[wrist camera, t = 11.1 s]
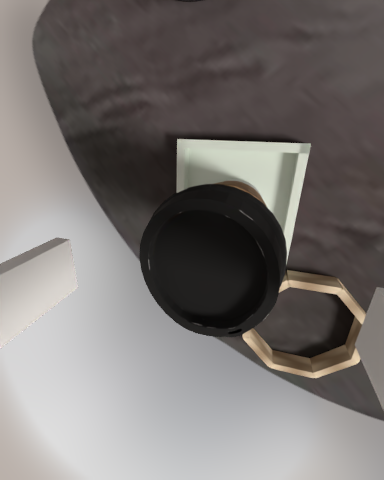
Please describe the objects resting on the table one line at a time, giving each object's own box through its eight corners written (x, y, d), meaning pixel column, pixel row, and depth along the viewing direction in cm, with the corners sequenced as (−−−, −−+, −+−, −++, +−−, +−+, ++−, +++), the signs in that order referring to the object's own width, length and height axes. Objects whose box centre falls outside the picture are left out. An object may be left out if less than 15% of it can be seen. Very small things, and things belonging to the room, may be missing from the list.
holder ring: (252, 264, 28) (251, 273, 26) (375, 283, 25) (385, 295, 23) (240, 347, 33) (239, 360, 31) (343, 371, 30) (349, 386, 28)
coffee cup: (217, 255, 28) (176, 355, 15) (182, 190, 27) (99, 236, 13) (289, 225, 25) (321, 321, 11) (254, 149, 23) (242, 155, 10)
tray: (183, 139, 25) (177, 138, 23) (307, 143, 22) (310, 143, 21) (180, 252, 30) (175, 259, 28) (282, 267, 27) (283, 276, 26)
